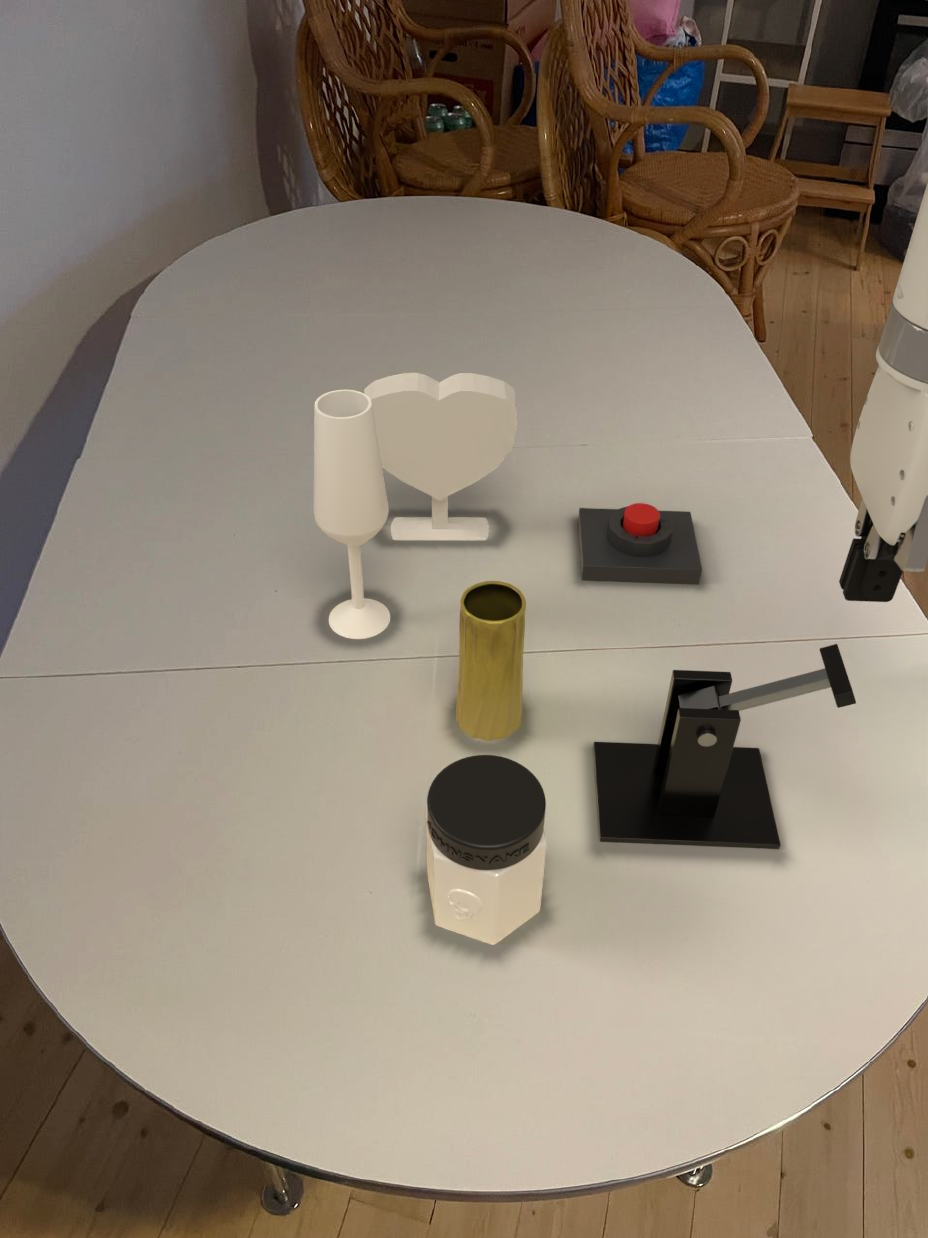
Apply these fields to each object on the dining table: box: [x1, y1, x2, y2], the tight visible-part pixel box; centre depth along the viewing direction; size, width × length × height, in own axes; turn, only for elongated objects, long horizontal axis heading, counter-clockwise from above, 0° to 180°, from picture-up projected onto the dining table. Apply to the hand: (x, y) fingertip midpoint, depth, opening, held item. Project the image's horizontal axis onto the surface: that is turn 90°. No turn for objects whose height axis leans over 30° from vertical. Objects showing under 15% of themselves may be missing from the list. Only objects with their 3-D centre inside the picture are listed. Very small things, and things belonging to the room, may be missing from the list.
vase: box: [455, 580, 527, 742], centre depth 87 cm, size 6×6×14 cm
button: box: [623, 502, 660, 536], centre depth 107 cm, size 4×4×2 cm
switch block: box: [577, 505, 703, 586], centre depth 109 cm, size 12×10×4 cm
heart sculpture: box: [363, 372, 519, 541], centre depth 107 cm, size 16×5×18 cm, turn 91°
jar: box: [425, 754, 548, 946], centre depth 75 cm, size 9×8×12 cm
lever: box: [678, 643, 857, 712], centre depth 77 cm, size 12×5×2 cm, turn 87°
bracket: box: [592, 669, 782, 850], centre depth 82 cm, size 14×10×13 cm
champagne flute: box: [313, 389, 391, 640], centre depth 94 cm, size 7×7×24 cm
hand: (864, 593), depth 70 cm, fingers closed
